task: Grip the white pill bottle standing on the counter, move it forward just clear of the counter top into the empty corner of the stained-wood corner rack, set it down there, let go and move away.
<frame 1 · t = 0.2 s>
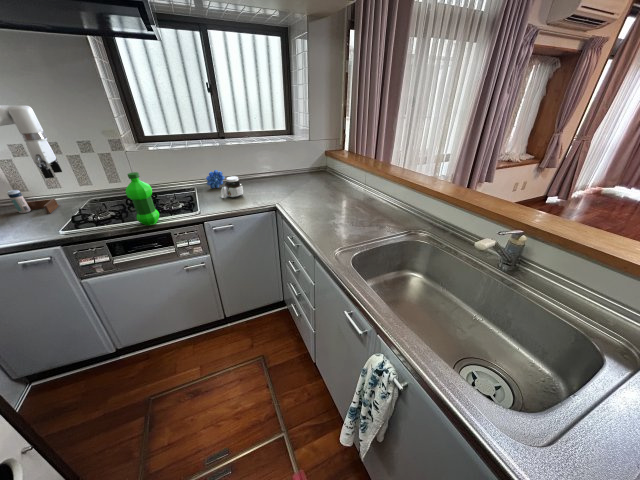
hand: (54, 175, 126), 23 cm above the worktop, tool pointing down, fingers open, 9 cm apart
white pill bottle: (25, 212, 144), on the worktop
plastic bottle: (150, 223, 133), on the worktop
spread jar: (232, 197, 164), on the worktop
blue knobbly toy: (217, 187, 179), on the worktop
corner rack: (55, 206, 150), on the worktop
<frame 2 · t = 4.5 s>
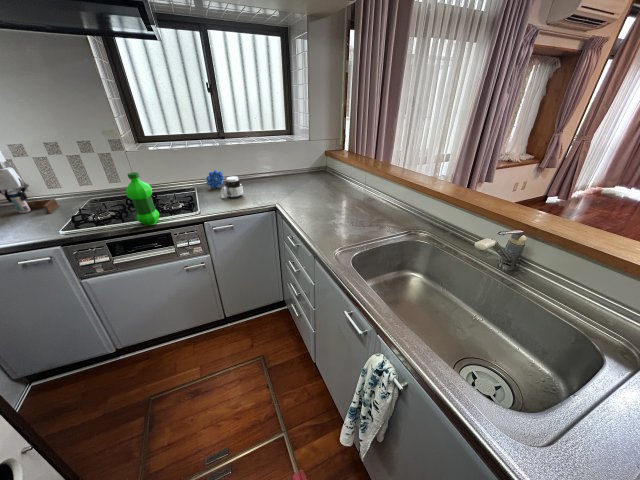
hand: (18, 200, 141), 7 cm above the worktop, tool pointing down, fingers closed on white pill bottle, 4 cm apart
white pill bottle: (25, 212, 144), on the worktop, touching gripper
everything else where it was.
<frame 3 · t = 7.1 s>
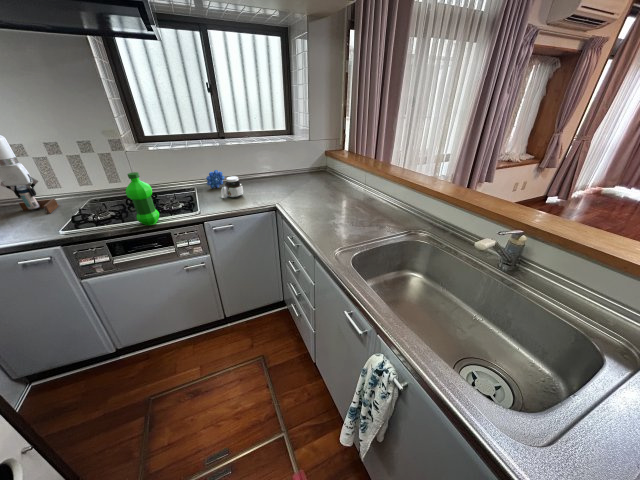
hand: (27, 196, 141), 9 cm above the worktop, tool pointing down, fingers closed on white pill bottle, 4 cm apart
white pill bottle: (34, 208, 145), point 2 cm above the worktop, touching gripper
everything else where it was.
when the fingers open (7 cm above the worktop, at t = 9.9 s): white pill bottle stays where it is, on the worktop.
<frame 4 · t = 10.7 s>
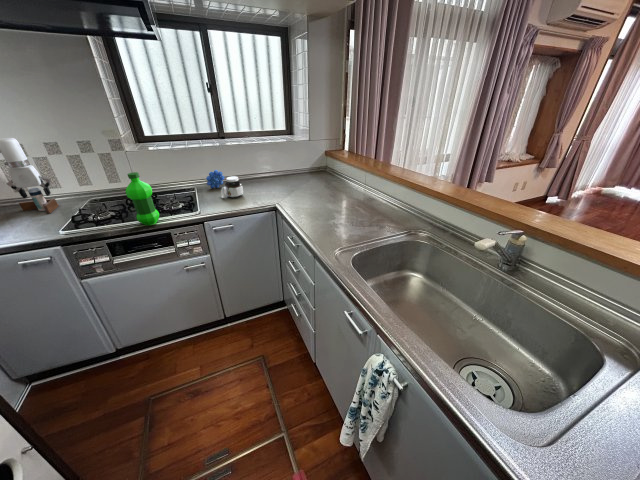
hand: (37, 196, 143), 8 cm above the worktop, tool pointing down, fingers open, 9 cm apart
white pill bottle: (45, 210, 147), on the worktop
everything else where it was.
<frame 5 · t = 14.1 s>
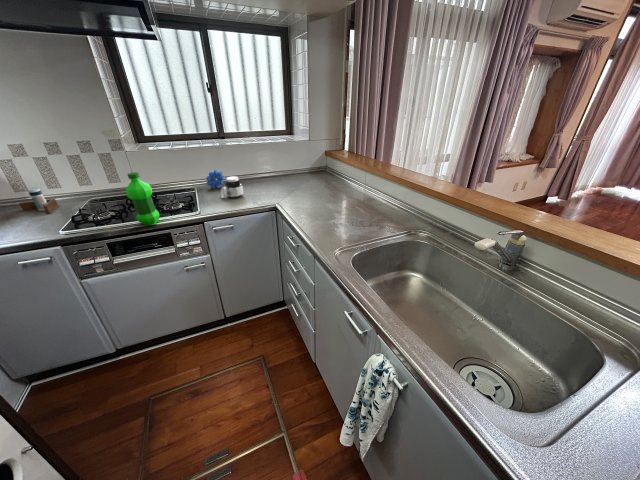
nothing on the worktop moved.
at the end: white pill bottle 0.3 cm from the target spot, on the worktop; white pill bottle tilted 0°; the gripper is holding nothing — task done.
